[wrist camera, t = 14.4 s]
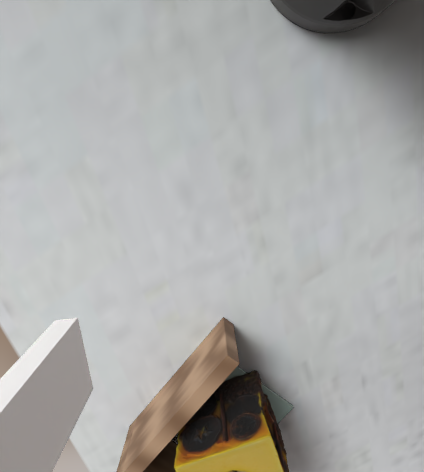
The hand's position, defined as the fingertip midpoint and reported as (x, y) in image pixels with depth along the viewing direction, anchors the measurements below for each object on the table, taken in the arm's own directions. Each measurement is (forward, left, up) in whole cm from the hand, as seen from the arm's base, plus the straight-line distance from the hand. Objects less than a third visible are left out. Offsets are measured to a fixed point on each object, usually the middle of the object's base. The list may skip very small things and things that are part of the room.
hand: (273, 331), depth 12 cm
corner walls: (+19, +16, -27) cm, 37 cm away
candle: (+20, +17, -27) cm, 37 cm away
